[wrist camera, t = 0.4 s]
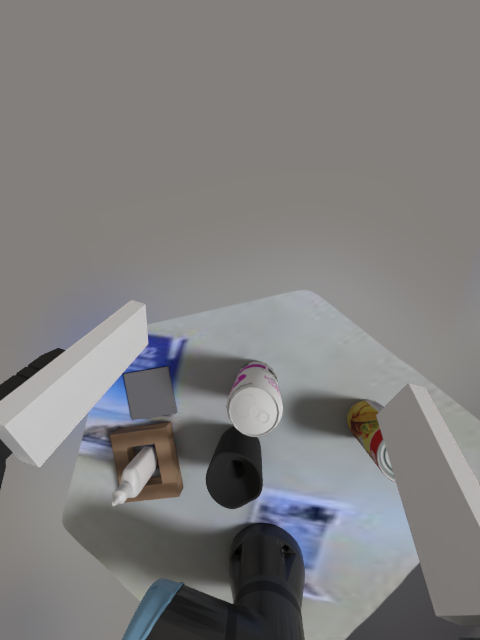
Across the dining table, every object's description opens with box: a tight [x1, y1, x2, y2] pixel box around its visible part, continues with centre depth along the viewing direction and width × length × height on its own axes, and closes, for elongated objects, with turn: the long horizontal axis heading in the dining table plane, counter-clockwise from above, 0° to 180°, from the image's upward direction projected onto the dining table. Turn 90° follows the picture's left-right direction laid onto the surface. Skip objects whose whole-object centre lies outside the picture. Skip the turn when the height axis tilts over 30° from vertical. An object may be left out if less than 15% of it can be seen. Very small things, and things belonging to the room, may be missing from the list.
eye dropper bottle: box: [112, 446, 157, 506], centre depth 43 cm, size 4×6×12 cm
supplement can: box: [226, 362, 283, 437], centre depth 39 cm, size 8×8×15 cm
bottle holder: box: [110, 422, 183, 503], centre depth 48 cm, size 14×12×2 cm
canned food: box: [347, 400, 396, 483], centre depth 38 cm, size 8×8×12 cm
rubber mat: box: [124, 366, 177, 420], centre depth 48 cm, size 10×10×1 cm
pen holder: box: [206, 427, 263, 509], centre depth 42 cm, size 9×9×10 cm
